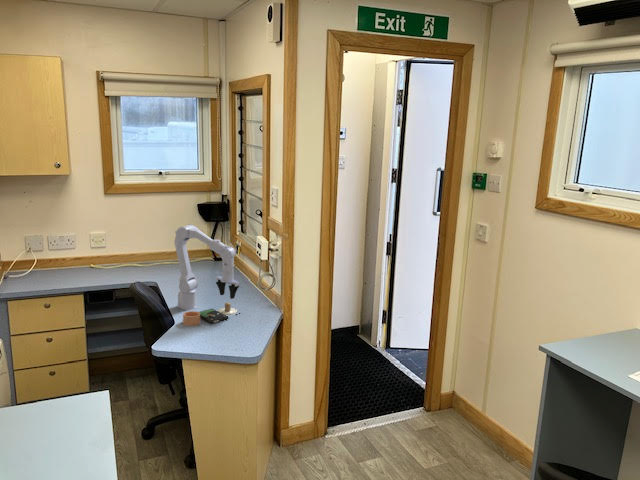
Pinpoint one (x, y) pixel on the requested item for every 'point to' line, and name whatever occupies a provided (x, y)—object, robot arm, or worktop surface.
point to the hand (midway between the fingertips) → (227, 296)
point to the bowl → (191, 318)
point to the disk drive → (212, 316)
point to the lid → (227, 309)
